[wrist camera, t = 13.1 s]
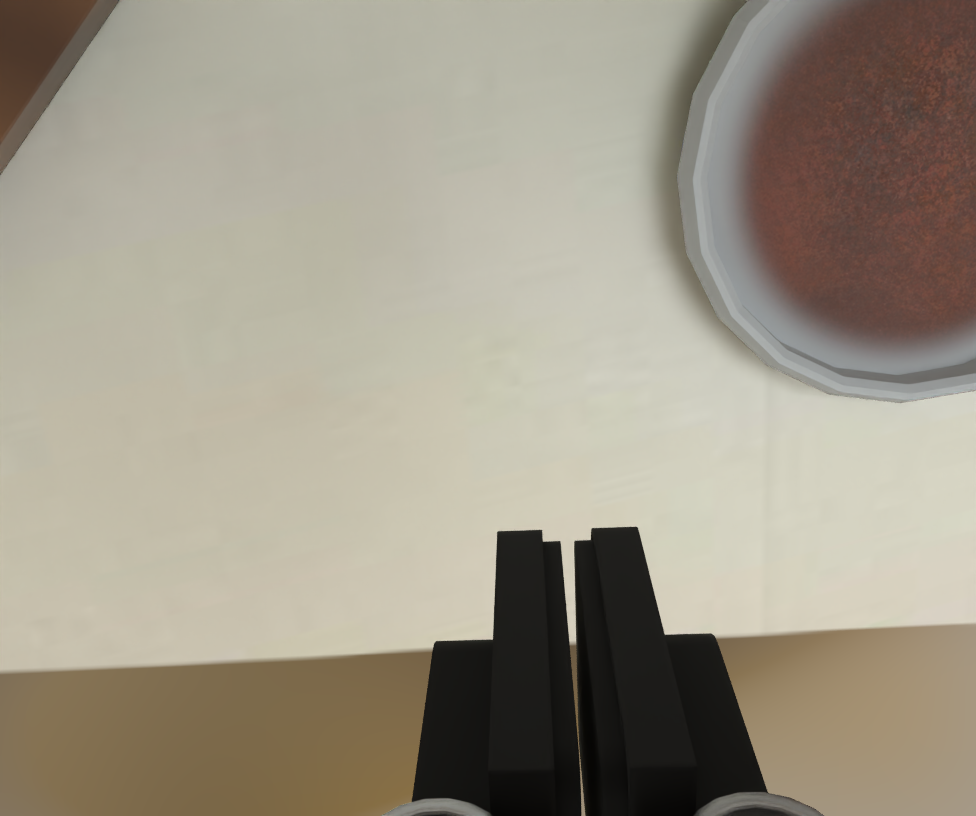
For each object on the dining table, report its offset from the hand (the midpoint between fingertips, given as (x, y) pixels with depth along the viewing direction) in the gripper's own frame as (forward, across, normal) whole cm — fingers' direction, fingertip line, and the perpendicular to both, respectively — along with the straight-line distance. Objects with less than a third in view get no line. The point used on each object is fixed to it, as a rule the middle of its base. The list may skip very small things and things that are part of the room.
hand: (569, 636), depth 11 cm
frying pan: (+25, -19, -2) cm, 32 cm away
